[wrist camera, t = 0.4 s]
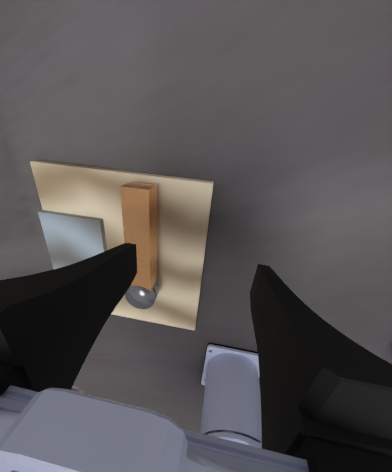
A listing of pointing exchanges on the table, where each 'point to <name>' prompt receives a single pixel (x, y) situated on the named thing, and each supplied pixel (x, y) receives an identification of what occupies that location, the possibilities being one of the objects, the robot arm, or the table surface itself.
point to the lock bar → (141, 240)
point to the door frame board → (111, 231)
